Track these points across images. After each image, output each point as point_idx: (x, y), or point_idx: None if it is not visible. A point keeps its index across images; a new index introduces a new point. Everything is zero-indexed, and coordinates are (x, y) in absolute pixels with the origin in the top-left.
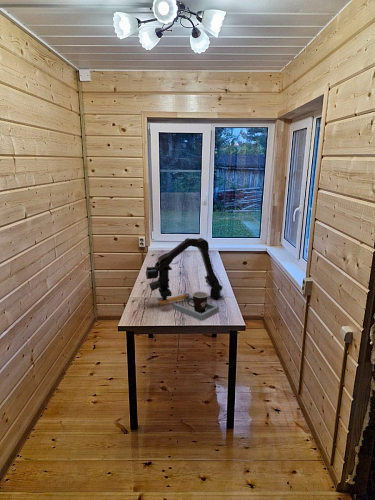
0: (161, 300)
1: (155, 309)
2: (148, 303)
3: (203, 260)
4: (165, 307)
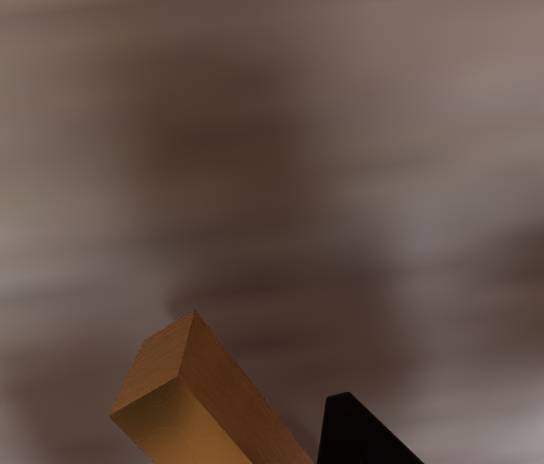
0: (200, 450)
1: (33, 230)
2: (368, 3)
3: None
4: None
